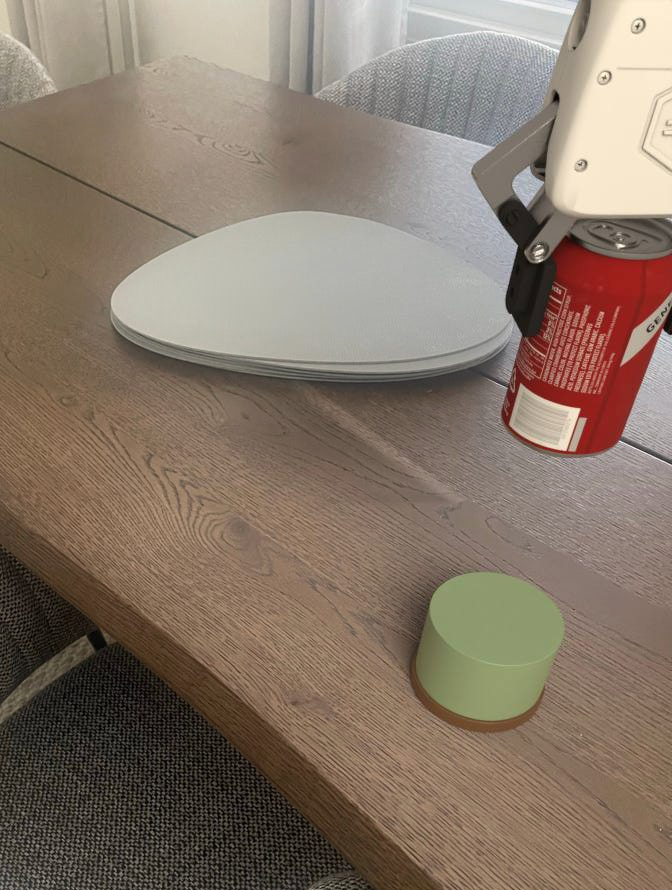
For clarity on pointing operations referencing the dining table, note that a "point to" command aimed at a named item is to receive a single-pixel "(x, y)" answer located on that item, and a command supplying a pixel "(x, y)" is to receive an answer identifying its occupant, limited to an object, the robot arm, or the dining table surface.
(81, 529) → the dining table surface
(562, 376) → the soda can
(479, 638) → the pedestal
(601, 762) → the dining table surface
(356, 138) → the dining table surface
